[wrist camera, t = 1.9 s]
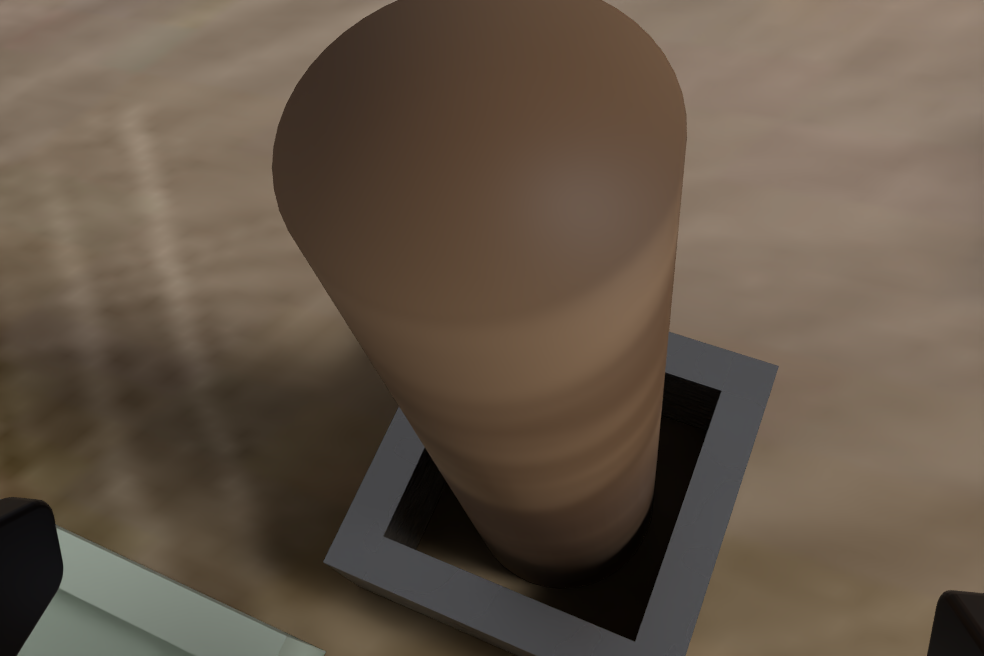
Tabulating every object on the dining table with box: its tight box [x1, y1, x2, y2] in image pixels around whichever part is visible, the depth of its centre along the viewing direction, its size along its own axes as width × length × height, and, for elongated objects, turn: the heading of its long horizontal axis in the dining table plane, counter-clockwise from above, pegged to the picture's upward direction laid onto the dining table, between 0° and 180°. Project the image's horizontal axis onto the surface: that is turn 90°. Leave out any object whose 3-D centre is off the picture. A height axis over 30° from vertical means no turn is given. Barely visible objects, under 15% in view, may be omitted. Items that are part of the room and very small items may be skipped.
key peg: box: [272, 0, 687, 588], centre depth 14 cm, size 4×4×13 cm
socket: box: [323, 332, 779, 656], centre depth 19 cm, size 7×7×2 cm
